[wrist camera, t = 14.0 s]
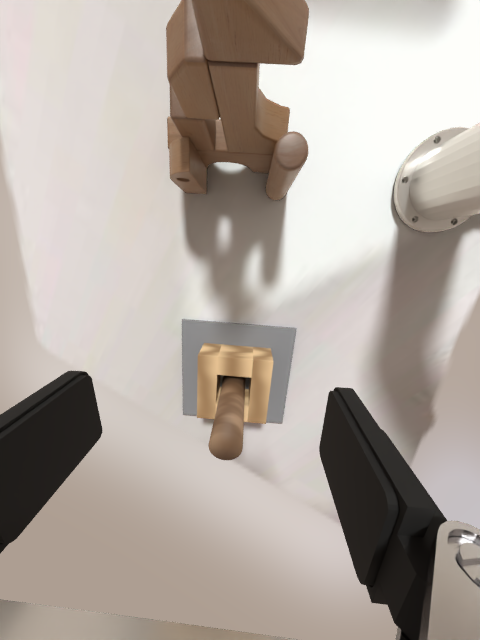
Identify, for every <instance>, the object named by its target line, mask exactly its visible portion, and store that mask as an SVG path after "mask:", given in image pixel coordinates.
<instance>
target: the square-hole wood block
mask: <svg viewBox="0 0 480 640" xmlns="http://www.w3.org/2000/svg"><path fill="white" fill-rule="evenodd" d="M272 370H273V357H272V352H271V348H260V347H248V346H236V345H224V344H211V343H204V344H203V346H202V348H201V350H200V352H199V354H198V372H197V418H207V419H214V418H215V414H216V409H217V405H218V400H219V396H220V391H221V387H220V375H225V376H237V377H249V378H250V384H249V389H245V402H244V422H251V423H262V424H266V418H267V410H268V402H269V394H270V386H271V378H272Z"/></svg>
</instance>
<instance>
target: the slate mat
mask: <svg viewBox="0 0 480 640" xmlns="http://www.w3.org/2000/svg"><path fill="white" fill-rule="evenodd" d="M295 335H296V328H288V327H275V326H263V325H250V324H237V323H225V322H212V321H199V320H187V319H182V375H183V414H184V415H196V416H197V372H198V354H199V352H200V350H201V348H202V346H203V344H204V343H211V344H224V345H236V346H248V347H260V348H271V352H272V357H273V370H272V378H271V386H270V394H269V402H268V410H267V418H266V422H273V423H282V421H283V414H284V408H285V401H286V395H287V388H288V381H289V375H290V368H291V362H292V355H293V349H294V342H295ZM223 378H224V375H220V387H222V382H223ZM249 384H250V378H249V377H246V379H245V389H249Z"/></svg>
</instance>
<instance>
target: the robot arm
mask: <svg viewBox="0 0 480 640" xmlns="http://www.w3.org/2000/svg"><path fill="white" fill-rule="evenodd" d="M402 181H403V182H402ZM394 203H395V207H396V211H397V213H398V214H399V216H400V218H401V219H402V220H403V222H404V223H405V224H406V225H408V226H409V227H411V228H412V229H415V230H417V231H421V232H439V231H445V230H448V229H451V228H454V227H456V226H458V225H460V224H462V223H463V222H465V221H466V220H467V219H469V218H470V217H471V216H472V215H474V214H480V123H478V124H476V125H475V126H473V127H471V128H464V127H457V128H450V129H446V130H442V131H440V132H438V133H436V134H434V135H432V136H430V137H429V138H427V139H426V140H424V141H423V142H422V143H420V144H419V145H418V146H417V147H416V148H415V149H414V150H413V151H412V152H411V153H410V154H409V155H408V157H407V158H406V160H405V161H404V163H403V164H402V166H401V168H400V170H399V172H398V175H397V178H396V182H395V186H394ZM101 434H102V426H101V421H100V416H99V411H98V407H97V402H96V397H95V392H94V387H93V382H92V378H91V377H90V376H89V375H88V373H87V372H83V371H68V372H66V373H64V374H63V375H61V376H60V377H58V378H57V379H56V380H54V381H52V382H51V383H49V384H47V385H46V386H44V387H43V388H41V389H40V390H38V391H37V392H35V393H33V394H32V395H30V396H29V397H27V398H26V399H24V400H23V401H21V402H20V403H18V404H17V405H15V406H13V407H12V408H10V409H9V410H7V411H6V412H4V413H3V414H1V415H0V553H1V552H2V551H3V550H4V548H5V547H6V546H7V545H8V544H9V543H11V542H12V541H14V540H15V539H16V538H17V537H18V536H19V535H20V534H21V533H22V531H23V530H24V529H25V528H26V526H27V525H28V524H29V523H30V522H31V521H32V519H33V518H34V517H35V515H37V513H38V512H39V511H40V510H41V509H42V507H43V506H44V505H45V504H46V503H47V501H48V500H49V499H50V498H51V497H52V495H53V494H54V493H55V492H56V490H57V489H58V488H59V487H60V486H61V484H62V483H63V482H64V481H65V479H66V478H67V477H68V476H69V475H70V474H71V472H72V471H73V470H74V469H75V468H76V466H77V465H78V464H79V463H80V462H81V460H82V459H83V458H84V457H85V456H86V454H87V453H88V452H89V451H90V450H91V448H92V447H93V446H94V445H95V443H96V442H97V441H98V440H99V438H100V437H101ZM320 457H321V460H322V464H323V467H324V470H325V473H326V477H327V480H328V483H329V486H330V490H331V493H332V496H333V499H334V503H335V506H336V509H337V513H338V516H339V519H340V522H341V526H342V529H343V532H344V535H345V539H346V542H347V545H348V548H349V552H350V555H351V558H352V561H353V565H354V568H355V571H356V574H357V577H358V579H359V581H360V583H361V584H363V585H366V586H367V589H368V592H369V595H370V599H371V602H372V603H379V604H387V605H388V607H389V610H390V612H391V615H392V618H393V621H394V623H395V624H396V625H397V626H398V629H397V635H396V640H480V530H479V529H477V528H475V527H473V526H471V525H469V524H465V523H462V522H459V521H447V520H446V518H445V517H444V515H443V514H442V513H441V511H440V510H439V508H438V507H437V505H436V504H435V503H434V501H433V500H432V498H431V497H430V495H429V494H428V493H427V491H426V490H425V488H424V487H423V485H422V484H421V483H420V481H419V480H418V479H417V477H416V475H415V474H414V473H413V471H412V470H411V468H410V467H409V465H408V464H407V463H406V461H405V460H404V458H403V457H402V456H401V454H400V453H399V451H398V450H397V448H396V447H395V446H394V444H393V443H392V441H391V440H390V438H389V437H388V436H387V434H386V433H385V432H384V431H383V430H382V429H380V427H379V426H378V424H377V423H376V422H375V420H374V419H373V417H372V416H371V414H370V413H369V411H368V410H367V409H366V407H365V406H364V404H363V403H362V401H361V400H360V398H359V397H358V395H357V394H356V393H355V391H354V390H353V389H352V388H339V387H336V388H335V389H334V391H330V392H329V395H328V401H327V407H326V413H325V418H324V424H323V430H322V435H321V441H320ZM0 640H295V639H290V638H283V637H276V636H269V635H261V634H254V633H247V632H240V631H232V630H225V629H218V628H211V627H204V626H196V625H189V624H182V623H174V622H167V621H160V620H153V619H145V618H138V617H130V616H122V615H115V614H107V613H100V612H92V611H85V610H76V609H69V608H61V607H54V606H46V605H39V604H31V603H23V602H15V601H8V600H0Z"/></svg>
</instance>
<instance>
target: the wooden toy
mask: <svg viewBox="0 0 480 640" xmlns="http://www.w3.org/2000/svg"><path fill="white" fill-rule="evenodd" d="M308 18H309V8H308V6H307V3H306V2H305V0H182V1H181V2H180V4H179V6H178V7H177V9H176V10H175V12H174V14H173V15H172V17H171V19H170V20H169V22H168V24H167V28H166V37H167V77H168V81H169V83H170V117H168V118H167V127H168V149H169V157H170V179H171V180H172V181H173V182H174V183H175V184H176V185H177V186H178V187H180V188H181V189H182V190H183V191H184V192H185V193H197V194H207V168H208V165H210V164H212V163H216V162H231V163H238V164H242V165H245V166H247V167H249V168H250V169H251V170H252V172H259V173H269V175H268V179H267V184H266V193H267V196H268V197H269V198H270V199H272V200H280V199H282V198H283V197H284V196H285V195H286V193H287V191H288V190H289V188H290V186H291V185H292V183H293V181H294V180H295V178H296V176H297V175H298V173H299V171H300V170H301V168H302V166H303V165H304V163H305V161H306V160H307V156H308V145H307V141H306V140H305V138H304V137H303V136H302V135H301V134H300V133H297V132H288V123H289V114H290V109H289V108H288V107H284V106H280V105H278V104H276V103H274V102H272V101H270V100H268V99H266V97H265V96H264V94H263V93H262V91H261V90H260V89H259V87H258V85H259V66H260V63H265V64H285V65H297V64H300V63H301V62H302V60H303V58H304V50H305V42H306V34H307V26H308ZM219 117H220V118H221V120H217V119H219ZM287 132H288V133H287Z"/></svg>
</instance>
